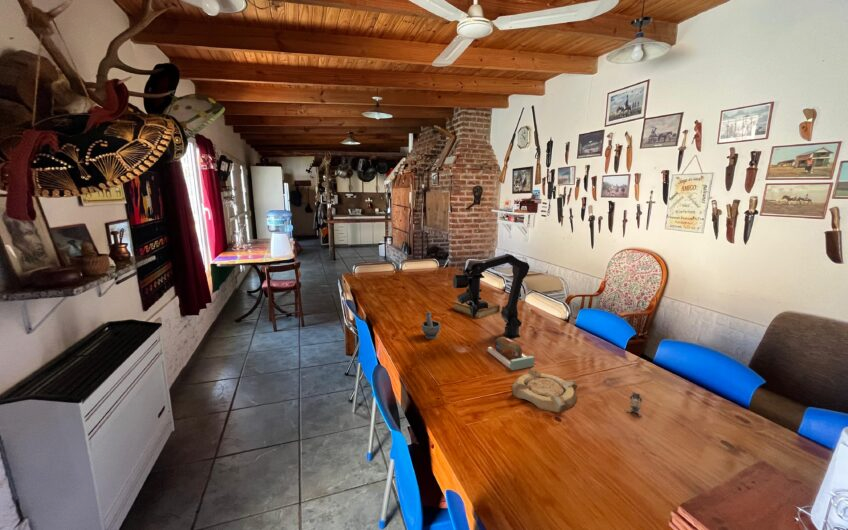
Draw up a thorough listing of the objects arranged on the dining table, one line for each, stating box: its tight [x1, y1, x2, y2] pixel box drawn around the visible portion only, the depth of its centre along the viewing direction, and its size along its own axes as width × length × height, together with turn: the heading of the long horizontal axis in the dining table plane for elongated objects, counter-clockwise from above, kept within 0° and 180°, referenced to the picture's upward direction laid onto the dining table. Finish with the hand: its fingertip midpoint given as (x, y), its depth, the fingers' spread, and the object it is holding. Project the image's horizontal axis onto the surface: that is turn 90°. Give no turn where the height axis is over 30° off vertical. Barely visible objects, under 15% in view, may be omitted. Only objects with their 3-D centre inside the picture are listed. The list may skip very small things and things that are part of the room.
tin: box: [494, 336, 523, 361], centre depth 155 cm, size 15×3×8 cm, turn 31°
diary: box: [452, 298, 501, 320], centre depth 219 cm, size 23×19×6 cm
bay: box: [487, 346, 535, 371], centre depth 154 cm, size 11×20×4 cm, turn 20°
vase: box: [624, 392, 643, 418], centre depth 116 cm, size 5×5×6 cm
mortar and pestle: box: [421, 311, 442, 340], centre depth 178 cm, size 11×9×12 cm
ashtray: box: [511, 368, 579, 413], centre depth 127 cm, size 24×24×5 cm
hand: (473, 317), depth 172 cm, fingers closed
